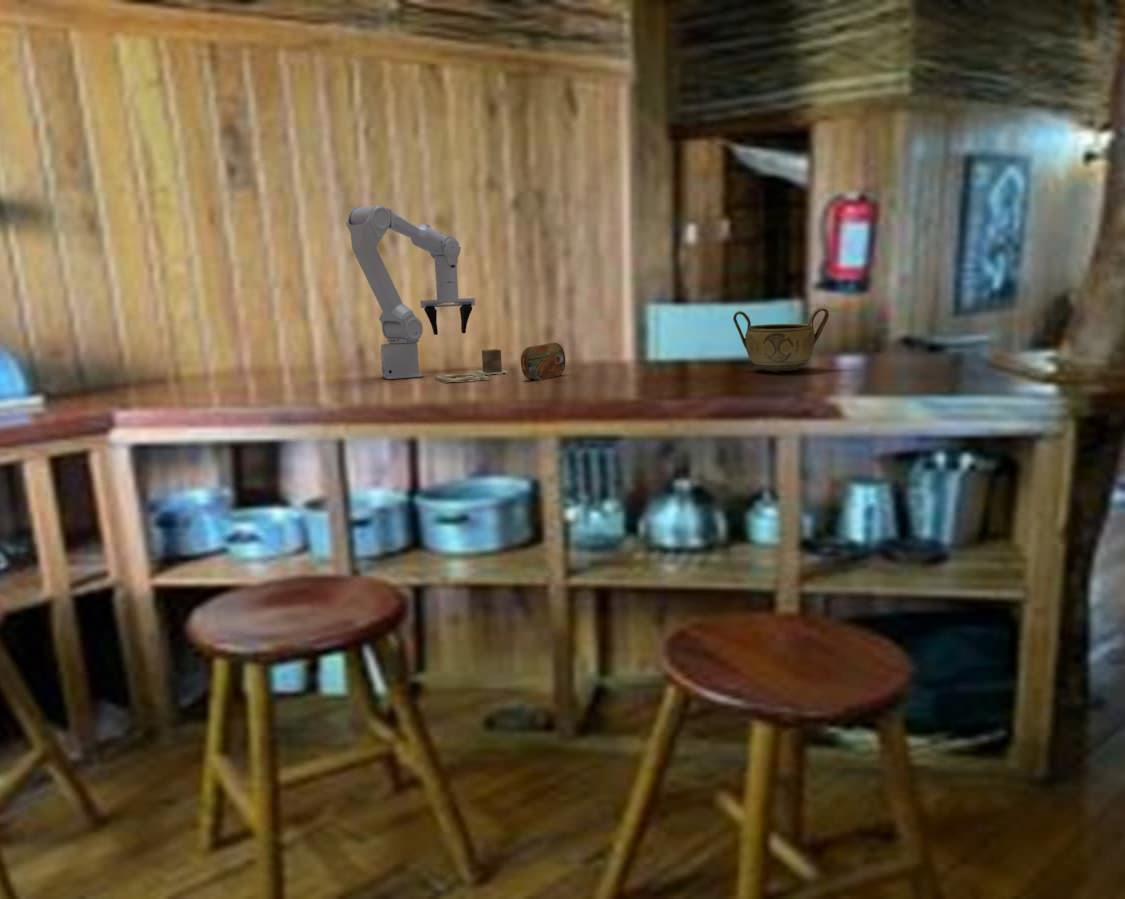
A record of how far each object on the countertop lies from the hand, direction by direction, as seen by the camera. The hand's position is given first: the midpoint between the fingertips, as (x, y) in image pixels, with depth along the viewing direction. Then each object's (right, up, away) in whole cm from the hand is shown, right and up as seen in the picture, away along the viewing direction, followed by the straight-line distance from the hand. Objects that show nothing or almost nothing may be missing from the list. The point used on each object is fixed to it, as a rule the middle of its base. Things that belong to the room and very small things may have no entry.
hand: (449, 333), depth 265 cm
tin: (+26, -14, -23) cm, 37 cm away
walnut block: (+12, -11, -10) cm, 19 cm away
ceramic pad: (+12, -11, -9) cm, 19 cm away
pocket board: (+5, -14, -20) cm, 25 cm away
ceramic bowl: (+83, -12, -27) cm, 88 cm away
